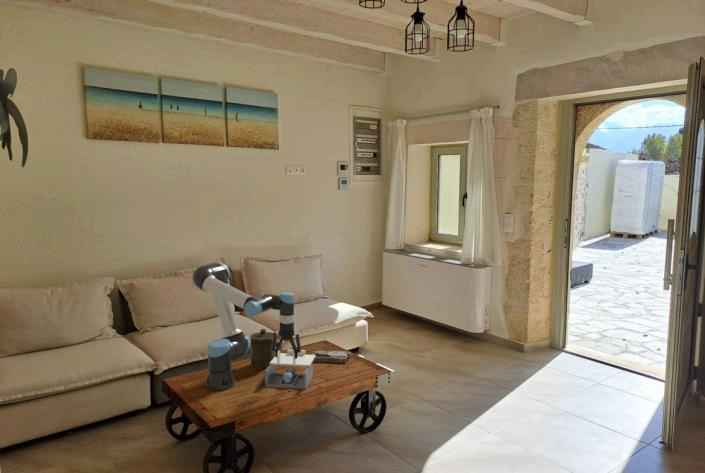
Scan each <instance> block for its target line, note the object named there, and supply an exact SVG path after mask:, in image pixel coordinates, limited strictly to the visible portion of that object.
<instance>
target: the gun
mask: <svg viewBox="0 0 705 473" xmlns="http://www.w3.org/2000/svg"><path fill="white" fill-rule="evenodd" d="M310 355H316V357H315V358H314V360H313V364H314V363H329V364H331V363H332V364H333V363H334V364H337V363H338V364H339V363H340V364H346V363H347V359H351V358H352V352H351V351H342V350H341V351H339V350H320V349H319V350H313V351H312V353H311V354H310Z"/></svg>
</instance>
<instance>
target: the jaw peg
mask: <svg viewBox="0 0 705 473" xmlns="http://www.w3.org/2000/svg"><path fill="white" fill-rule="evenodd" d="M283 373H284V375H283V379H284V384H292V378H293V375H292V373H291V372H286V371H285V372H283Z"/></svg>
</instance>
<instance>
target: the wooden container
mask: <svg viewBox="0 0 705 473" xmlns="http://www.w3.org/2000/svg"><path fill="white" fill-rule="evenodd" d="M259 331H260V332H256V333H255V332H254V333H253V334H251V335H250V366H251V368H252V369H254V370H258V371H262V370H264V369H267V368H268V366H269V365H270V362H271V361H272V360H273V358H274V357H275V356H276V352H275V351H273V350H272V346H273V340H274V332H269V331H267V329H265V328H261V329H260V330H259Z"/></svg>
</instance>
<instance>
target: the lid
mask: <svg viewBox="0 0 705 473" xmlns="http://www.w3.org/2000/svg"><path fill="white" fill-rule="evenodd" d="M293 353H294V350H293V348H291V349H290V348H288V349H287V353H283V352H282V353H281V352H280V363H279V364H277V358H276V356H275V357H274V358H273V360H272V361H271V362H270V365H276V366H288V367H306V368H307V367H310V365H311V363H312V362H313V360H314V358H315V357H316V355H311V354H306V349H301V351H300V352H298V357H297V359H296V364H295V365H293Z"/></svg>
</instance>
